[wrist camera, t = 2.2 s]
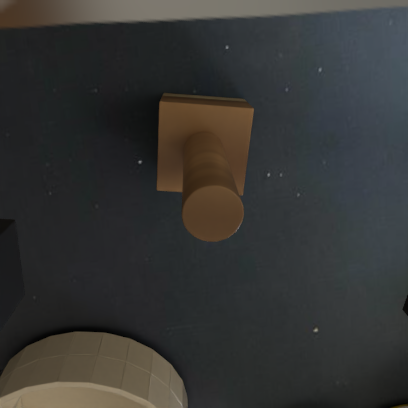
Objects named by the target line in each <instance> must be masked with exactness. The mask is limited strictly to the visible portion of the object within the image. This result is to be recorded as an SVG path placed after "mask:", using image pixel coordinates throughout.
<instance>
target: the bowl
mask: <svg viewBox="0 0 408 408" xmlns="http://www.w3.org/2000/svg"><path fill="white" fill-rule="evenodd" d="M0 408H188V398H187V394H186V391H185V387H184V384H183V381H182V379H181V378H180V376H179V375H178V373H177V372H176V371H175V369H174V368H173V366H172V365H171V364H170V363H169V362H168V361H167V360H165V359H164V358H163V357H162V356H160V355H159V354H158V353H157V352H155V351H154V350H153V349H151V348H149V347H147V346H145V345H143V344H141V343H139V342H136V341H134V340H132V339H130V338H126V337H122V336H118V335H113V334H109V333H105V332H104V333H103V332H70V333H64V334H59V335H53V336H49V337H47V338H44V339H42V340H40V341H38V342H35V343H33V344H31V345H28V346H26V347H25V348H24V349H23V350H21V351H20V352H19V353H18V354H16V355H15V356H14V357H13V358H11V359H10V360H9V362H8V363H7V365H6V367H5V368H4V370H3V371H2V373H1V374H0Z"/></svg>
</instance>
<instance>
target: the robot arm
mask: <svg viewBox="0 0 408 408" xmlns="http://www.w3.org/2000/svg"><path fill="white" fill-rule="evenodd" d="M24 295H25V291H24V283H23V275H22V268H21V260H20V252H19V245H18V237H17V229H16V221H15V220H12V219H0V331H1V330H2V328H3V327H4V325H5V323H6V322H7V320H8V319H9V317H10V316H11V314H12V313H13V311H14V310H15V308H16V307H17V305H18V304H19V302H20V301H21V299H22V298H23V296H24ZM403 311H404V312H405V313H406V314H407V316H408V295H407V298H406V301H405V304H404V307H403Z"/></svg>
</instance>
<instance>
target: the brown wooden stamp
mask: <svg viewBox="0 0 408 408" xmlns="http://www.w3.org/2000/svg"><path fill="white" fill-rule="evenodd" d="M253 111H254V108H253V107H252V106H251V105H250V104H249V103H248V102H247V101H246V100H245V99H241V98H227V97H214V96H201V95H187V94H174V93H163V96H162V98H161V100H160V102H159V128H158V162H157V190H159V191H176V192H182V220H183V224H184V226H185V227H186V229H187V230H188V231H189V233H191V234H192V235H193V236H195V237H196V238H198V239H201V240H204V241H210V242H213V241H220V240H223V239H226V238H228V237H230V236H231V235H233V234H234V233H235V232H236V231H237V230H238V228H239V227H240V225H241V223H242V220H243V216H244V208H243V204H242V201H241V198H240V195H243V190H244V182H245V174H246V166H247V159H248V151H249V143H250V135H251V127H252V119H253Z"/></svg>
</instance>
